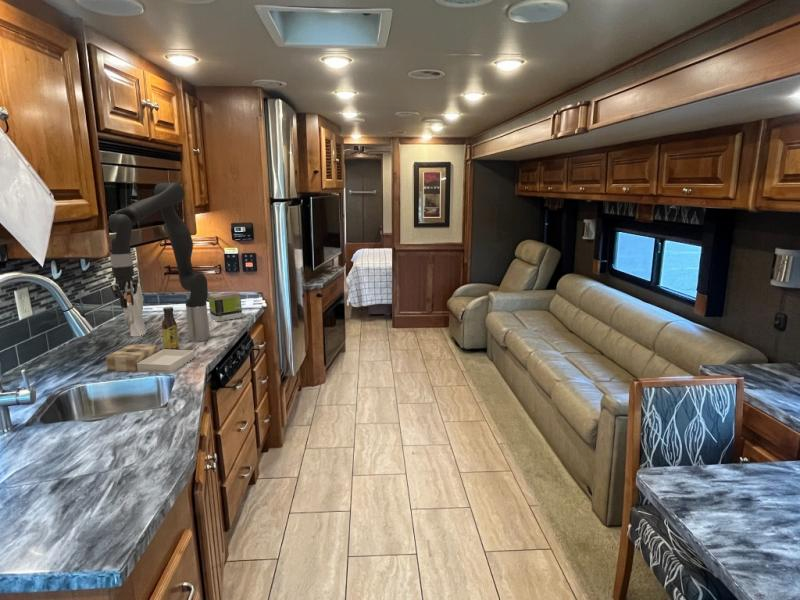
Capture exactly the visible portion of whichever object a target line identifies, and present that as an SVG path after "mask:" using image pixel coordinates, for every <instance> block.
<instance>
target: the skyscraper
mask: <svg viewBox="0 0 800 600" xmlns="http://www.w3.org/2000/svg"><path fill="white" fill-rule="evenodd" d="M133 289H134V288H133ZM133 291H134V290H133ZM133 301H134V305H133V306H132V309H133V317H134V324H130V337H140V336H141V335H142V336H144V335H146V334H145V333H147V332H148V331H147V328H146V325H145V321H144V318H143V311H144V297H143V291H142V286H141V284H140V283H139V282H138V286H137V293H136V294H134V296H133ZM143 334H144V335H143ZM142 336H141V337H142Z"/></svg>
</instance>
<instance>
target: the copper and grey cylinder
mask: <svg viewBox="0 0 800 600" xmlns="http://www.w3.org/2000/svg"><path fill="white" fill-rule="evenodd" d="M126 299H127V306H128V307H127V308H122V309H123V315H124V316H123V318H124V324H125V325H131V324H134V317H133V309H132V301H131V294H126Z"/></svg>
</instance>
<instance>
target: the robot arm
mask: <svg viewBox="0 0 800 600" xmlns="http://www.w3.org/2000/svg"><path fill="white" fill-rule="evenodd" d="M153 194H154V195H153V196H149V197H147V198H143V199H140V200H137V201H135V202H133V203H131V204H129V205H128V206H126V207H124V208H120V209H118V210H115V213H114V214H111V215H110V216H109V220H108V224H109V228H110V230H111V231H112V232H111V233H116V234H115V237H114V238H111V239H112V242H111V243H112V253H110V265H111V273H112V277H113V278H115V283H114V284H113V285H110V289H111V291H112V294H113V296H114V297H115V299H119V301H120V308H122V309H123V308H127V307H128V306H127V299H126V294H131V301H132V306H133V305H134V301H133V296H134V294H136V293H137V286H138V283H139V280H138V279H134V278H133V277H134V276H135V269H134V261H133V260H134V259H133V256H132V251H131V244H130V243H131V238H132V231H133V224H136V223H139V222H141V221H143V220H144V219H146V218H148V217H149V216H151V215H153V214H154V213H156V212H159V211H160V213H161V215H162V218H163V222H164V224H165V227H166V231H167V235H168V238H169V242H170V244H171V249H172V252H173V255H174V259H175V263H176V267H177V273H178V279H179V283H180V285H181V287H182V289H184V290H185V291H188V292H190V297H189V298H187V299H186V300H185V308H186V309H185V311H186V319H187V321H186V323H187V332H188V340H189V342H192V341H194V343H198V342H197V341H201V342H204V341H203V340H205V341H208V340H209V339H210V337H211V333H210V323H209V317H208V316H209V315H208V306H207V305H208V304H207V301H208V299H209V297H208V295H209V293H208V288H209V287H208V279H207V277H206V276H205V274H204V273H202V272H196V271H195V270H194V266H193V264H192V254H193V249H194V243H193V238H192V234H191V232H190V229H189V228H188V226H187V225H186V224H185V222H184V221H183V220H182V219H181V218H180V216H179V215H178V213H177V212H176V210H175V207H174V205H176V204H179V203H181V202H183V200H184V198H185V195H186V193H185V190H184V188H183V186H182V184H180V183H178V182H160V183H157V184H155V186H154V193H153ZM133 288H134V289H133ZM133 290H134V291H133ZM209 336H210V337H209ZM207 339H208V340H207Z"/></svg>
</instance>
